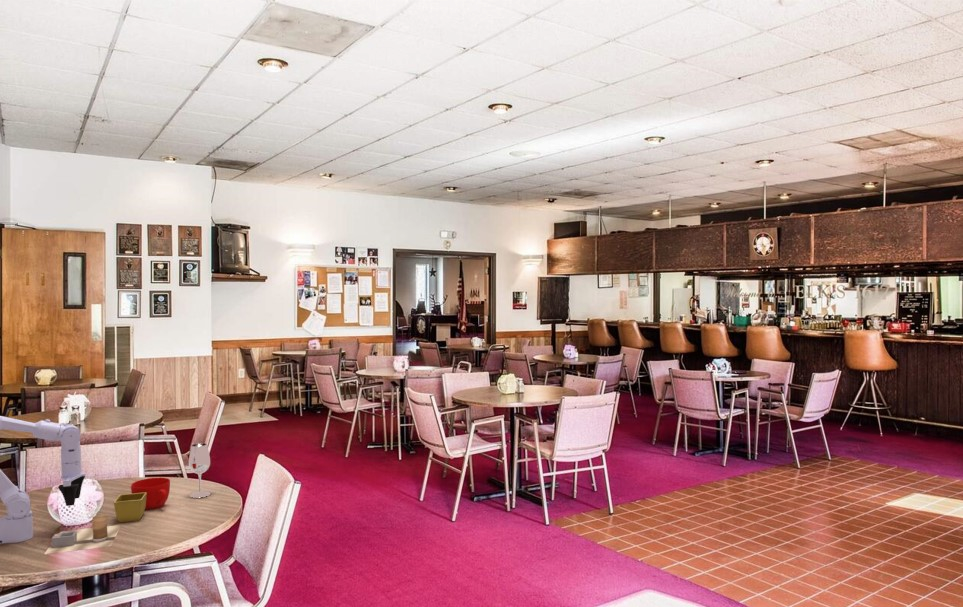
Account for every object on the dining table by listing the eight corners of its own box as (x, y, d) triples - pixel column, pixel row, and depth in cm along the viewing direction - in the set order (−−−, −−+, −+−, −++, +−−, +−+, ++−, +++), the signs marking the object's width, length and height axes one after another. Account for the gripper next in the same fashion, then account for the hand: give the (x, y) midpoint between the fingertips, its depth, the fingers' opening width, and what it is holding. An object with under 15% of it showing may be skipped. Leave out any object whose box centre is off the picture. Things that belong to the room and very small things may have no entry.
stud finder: (51, 548, 208) (51, 537, 208) (55, 543, 211) (54, 533, 211) (73, 545, 210) (73, 535, 210) (76, 540, 213) (76, 530, 213)
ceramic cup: (147, 520, 236) (147, 492, 236) (124, 510, 246) (124, 483, 246) (183, 510, 246) (182, 483, 246) (159, 501, 257) (159, 475, 256)
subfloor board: (43, 559, 203) (43, 554, 203) (60, 536, 222) (60, 531, 222) (110, 550, 209) (110, 546, 209) (121, 528, 228) (121, 524, 228)
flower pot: (113, 528, 229) (113, 502, 228) (120, 519, 237) (119, 494, 237) (142, 525, 231) (141, 499, 231) (147, 517, 239) (147, 492, 239)
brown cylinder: (106, 541, 212) (105, 518, 212) (90, 543, 211) (90, 519, 211) (109, 536, 217) (109, 513, 216) (94, 538, 215) (93, 515, 215)
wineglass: (189, 493, 266) (188, 443, 265) (210, 491, 269) (209, 441, 268) (189, 499, 258) (188, 448, 258) (211, 496, 262) (210, 445, 261)
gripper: (80, 465, 218) (81, 506, 219) (89, 455, 232) (91, 493, 233) (55, 468, 216) (56, 509, 217) (66, 457, 230) (67, 496, 230)
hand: (73, 501), depth 224 cm, fingers open, 7 cm apart
